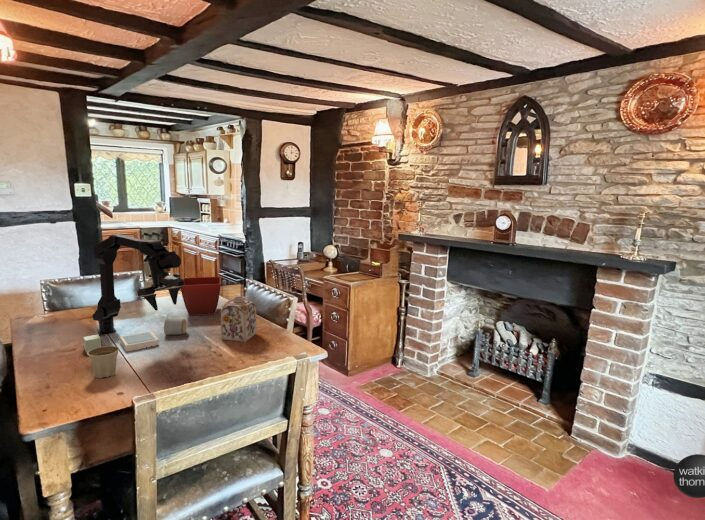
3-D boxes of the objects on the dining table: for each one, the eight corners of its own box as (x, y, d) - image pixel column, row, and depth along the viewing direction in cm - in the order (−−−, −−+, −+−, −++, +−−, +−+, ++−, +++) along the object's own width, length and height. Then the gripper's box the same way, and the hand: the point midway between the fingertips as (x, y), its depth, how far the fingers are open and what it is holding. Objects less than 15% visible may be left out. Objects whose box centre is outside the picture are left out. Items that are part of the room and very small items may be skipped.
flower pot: (97, 368, 147) (96, 345, 145) (125, 368, 148) (124, 345, 146) (83, 380, 138) (81, 356, 136) (112, 380, 138) (111, 356, 137)
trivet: (120, 342, 172) (119, 336, 171) (151, 336, 179) (150, 330, 179) (126, 351, 163) (125, 345, 162) (158, 345, 170) (158, 338, 170)
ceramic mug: (183, 336, 181) (183, 319, 179) (163, 337, 179) (163, 320, 178) (189, 329, 191) (188, 313, 190) (170, 329, 190) (170, 313, 189)
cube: (84, 349, 164) (83, 336, 163) (99, 346, 167) (98, 334, 167) (86, 353, 160) (85, 340, 160) (101, 350, 164) (100, 338, 163)
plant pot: (184, 307, 224) (183, 277, 221) (221, 306, 230) (220, 276, 227) (181, 318, 206) (179, 285, 203) (221, 316, 212) (220, 283, 209)
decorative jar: (245, 342, 176) (245, 301, 173) (220, 340, 178) (219, 299, 175) (257, 333, 187) (257, 295, 184) (233, 331, 190) (233, 293, 187)
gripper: (150, 273, 159) (159, 312, 160) (189, 264, 175) (197, 300, 177) (132, 276, 164) (141, 314, 165) (171, 267, 180) (179, 302, 182)
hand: (166, 307), depth 172 cm, fingers open, 9 cm apart
